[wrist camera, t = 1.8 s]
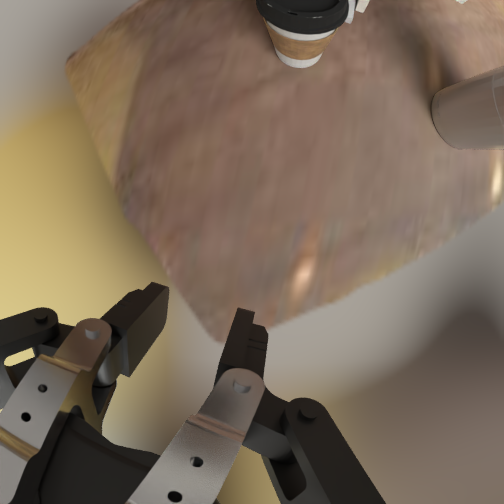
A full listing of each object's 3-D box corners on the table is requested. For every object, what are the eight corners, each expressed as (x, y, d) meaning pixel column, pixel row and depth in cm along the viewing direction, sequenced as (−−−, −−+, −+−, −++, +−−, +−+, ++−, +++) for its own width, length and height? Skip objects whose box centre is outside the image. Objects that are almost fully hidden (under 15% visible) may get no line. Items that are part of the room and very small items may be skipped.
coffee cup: (257, 66, 29) (238, 8, 15) (276, 18, 26) (269, -48, 12) (320, 85, 29) (343, 35, 15) (337, 36, 26) (361, -25, 12)
